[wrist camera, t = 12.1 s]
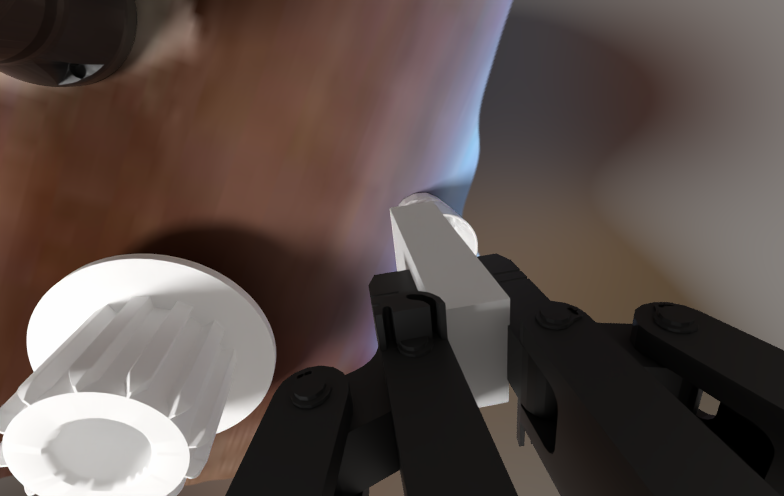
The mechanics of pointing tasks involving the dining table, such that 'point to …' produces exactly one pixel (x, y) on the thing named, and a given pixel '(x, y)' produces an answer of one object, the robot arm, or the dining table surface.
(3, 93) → the dining table surface
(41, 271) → the dining table surface
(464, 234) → the white cup
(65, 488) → the ribbed cylinder on disc
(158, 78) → the dining table surface
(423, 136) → the dining table surface
